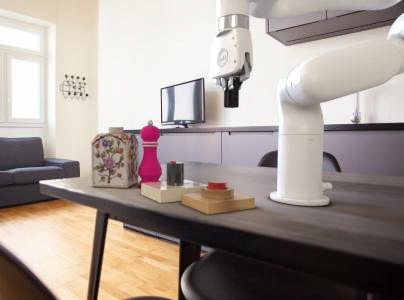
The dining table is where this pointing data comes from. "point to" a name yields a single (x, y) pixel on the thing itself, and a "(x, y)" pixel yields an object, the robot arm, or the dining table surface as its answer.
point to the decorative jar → (114, 159)
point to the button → (217, 184)
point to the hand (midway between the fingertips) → (231, 107)
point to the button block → (217, 200)
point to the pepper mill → (150, 154)
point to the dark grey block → (175, 173)
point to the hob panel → (169, 190)
